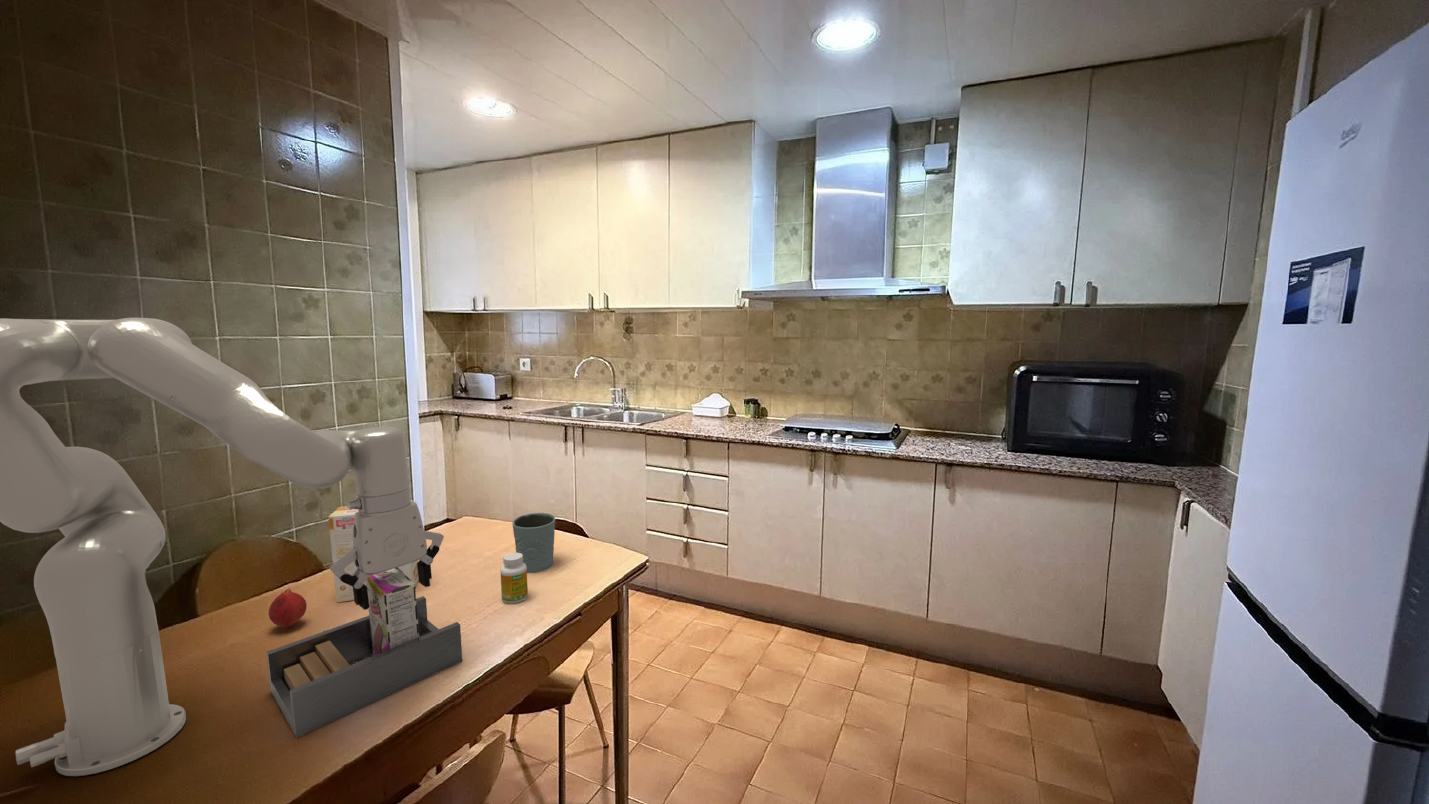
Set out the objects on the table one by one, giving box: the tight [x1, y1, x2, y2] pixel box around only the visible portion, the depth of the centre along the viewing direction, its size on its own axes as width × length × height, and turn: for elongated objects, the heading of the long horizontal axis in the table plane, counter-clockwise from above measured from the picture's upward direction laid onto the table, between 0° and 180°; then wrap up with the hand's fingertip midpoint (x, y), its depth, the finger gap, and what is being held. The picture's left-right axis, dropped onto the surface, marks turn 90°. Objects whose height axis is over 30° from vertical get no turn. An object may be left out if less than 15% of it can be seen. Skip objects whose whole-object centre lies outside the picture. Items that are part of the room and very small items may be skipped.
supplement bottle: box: [500, 552, 529, 605], centre depth 118 cm, size 5×5×10 cm
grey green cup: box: [511, 512, 556, 574], centre depth 134 cm, size 10×10×12 cm
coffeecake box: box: [327, 499, 419, 603], centre depth 120 cm, size 15×7×20 cm, turn 108°
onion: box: [268, 587, 308, 628], centre depth 106 cm, size 6×6×8 cm
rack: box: [266, 595, 463, 739], centre depth 91 cm, size 24×15×7 cm, turn 140°
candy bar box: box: [366, 567, 420, 656], centre depth 94 cm, size 11×5×16 cm, turn 47°
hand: (395, 595), depth 94 cm, fingers open, 9 cm apart
